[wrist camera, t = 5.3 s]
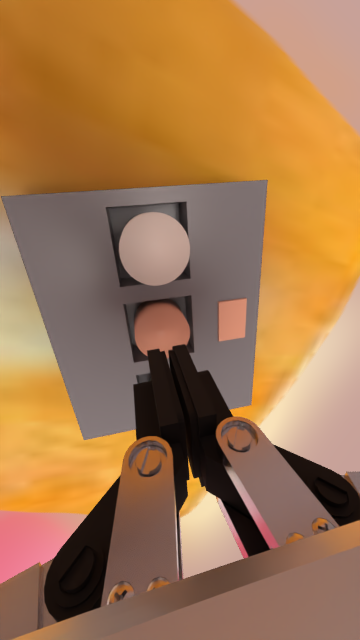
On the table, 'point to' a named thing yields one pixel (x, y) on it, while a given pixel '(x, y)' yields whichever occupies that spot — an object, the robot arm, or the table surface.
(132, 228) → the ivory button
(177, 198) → the button box
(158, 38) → the table surface
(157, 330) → the terracotta button
